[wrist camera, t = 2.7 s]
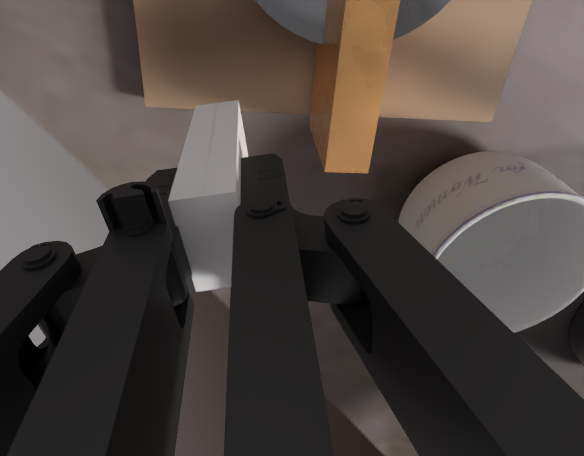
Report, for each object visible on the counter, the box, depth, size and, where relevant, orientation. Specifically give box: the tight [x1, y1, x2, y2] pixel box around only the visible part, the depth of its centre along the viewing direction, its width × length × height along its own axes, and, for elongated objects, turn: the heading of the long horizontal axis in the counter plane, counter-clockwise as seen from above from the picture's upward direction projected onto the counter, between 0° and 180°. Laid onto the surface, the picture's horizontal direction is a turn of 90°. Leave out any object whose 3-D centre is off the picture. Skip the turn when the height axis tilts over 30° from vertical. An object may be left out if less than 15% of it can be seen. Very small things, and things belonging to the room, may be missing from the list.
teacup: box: [398, 151, 584, 333], centre depth 27 cm, size 14×11×8 cm
